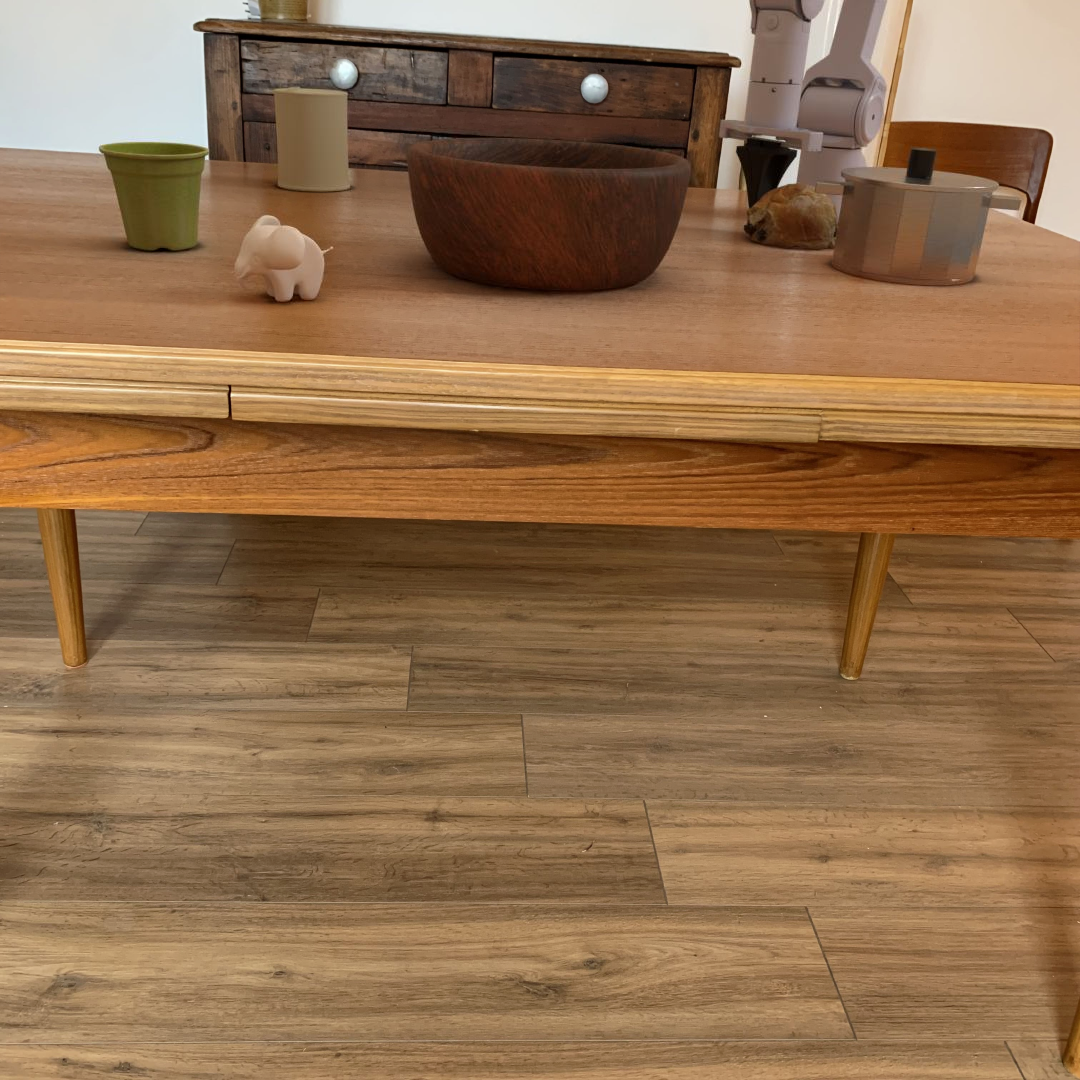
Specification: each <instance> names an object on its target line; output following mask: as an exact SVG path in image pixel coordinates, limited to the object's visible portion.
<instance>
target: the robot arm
mask: <svg viewBox="0 0 1080 1080" xmlns="http://www.w3.org/2000/svg"><path fill="white" fill-rule="evenodd" d="M825 1H826V0H749V1H748V2H749V8H750V13H751V20H750V29H751V30H750V31H751V34H752V35H754V38H753V39H754V40H753V47H752V55H751V64H750V71H749V81H748V88H747V96H746V105H745V113H744V120H737V119H720V123H719V133H718V137H719V138H722V139H732V140H738V141H746V143H744V145H736V148H735V153H736V156H737V159H738V160H739V163H740V165H741V168H742V172H743V176H744V180H745V181H744V182H745V188H746V195H747V203H748V204H747V205H748V209H750V208H752V207H753V205H754V204H755V203H756V202H758V201H759V200H760V198H761V197H762V196H763V195H765V194H766V193H767V192H769V191H771V190H773V189H776V188H778V187H779V185H780V183H781V181H782V179H783V177H784V175H785V173H786V172H787V170H788V169H789V167H791V165H792V163H793V162H794V161H795V160H796V158H797V156H798V150H800V152H799V153H800V154H799V162H798V167H797V175H796V182H795V183H799V184H808V185H811V186H813V187H816V182H817V180H824V181H836V182H845V178H843V177H841V171H842V170H843V169H846V168H854V167H868V166H867V160H866V157H865V155H864V153H863V152H862V148H867V147H868V145H870V143H872V141H873V140H874V139H875V138H876V137H877V135H878V134H879V132H880V129H881V127H882V123H883V120H884V113H885V100H886V94H887V90H888V88H887V87H888V86H887V82H886V79H885V78H884V76H883V75H882V73H881V72H880V71H879V70H878V69H877V68H876V67H875V66H874V65H873V63H872V57H873V54H874V50H875V47H876V43H877V41H878V40H877V39H878V35H879V32H880V29H881V26H882V21H883V18H884V15H885V12H886V11H885V10H886V7H887V3H888V0H843V1H842V5H841V9H840V12H839V15H838V19H837V23H836V27H835V30H834V34H833V38H832V42H831V45H830V49H829V53H828V54H827V55H826V56H825V57H823V58H822V59H820V60H819V61H817V62H816V63H815V64H813V65H811V66H810V67H809V68H807V69H806V68H805V67H806V61H807V55H808V46H809V39H810V33H811V27H812V26H811V25H812V20H814V19H815V18H816V17H817V16H818V15H819V14H820V13H821V11H822V9H823V7H824V4H825ZM805 69H806V70H805ZM759 136H760V137H759ZM761 136H766V137H775V139H771V138H764V137H761ZM826 195H827V196H829V198H830V199H831V200H832V202H833V203H834V204H835V206H836V209H837V216H838V221H839V215H840V208H841V202H842V196H843V195H832V194H826Z"/></svg>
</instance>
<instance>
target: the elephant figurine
mask: <svg viewBox="0 0 1080 1080" xmlns="http://www.w3.org/2000/svg"><path fill="white" fill-rule="evenodd" d="M333 249H334V247H333V246H329V248H328V249H325V250H322V249H321V248H320V247H319V245H318V244H317V243H316V242H315V241H314V240H313V239H312V238H310V237H309V236H307V235H305V234H304V233H302V232H301V231H300V230H298V229H297V228H296V227H294V226H290V225H281V222H280V220H279V219H278V218H277V217H276V216H273V215H268V214H264V215H262V216H260V217H259V218H258V219H256V221H255V222H254V223H253V225H252V226H251V228H250V229H249V231H248V232H247V233H246V235H245V236H244V237H243V239H242V243H241V247H240V250H239V254H238V256H237V259H236V260H235V263H234V267H233V268H234V270H232V271H231V272H230V274H235V279H236V281H237V283H238V284H239V285H240V287H242V288H243V289H244V290H246V291H253V290H255V289H256V288H257V287H258V282H257V281H256V280H250V281H248V278H249V277H250V276H253V275H261V276H262V278H263V281H264V284H265V287H266V292H267V294H268V296H269V297H273V298H274V299H275V301H277V302H279V303H285V302H289V301H290V300H291V299H292V298H293V296H294V294H295V295H299V297H300V299H301V300H305V301H312V300H314V299H316V298H317V296H318V294H319V292H320V289H321V286H322V282H323V278H324V271H325V258H324V255H325V254H326V253H327V252H329V251H331V250H333Z"/></svg>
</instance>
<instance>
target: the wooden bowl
mask: <svg viewBox="0 0 1080 1080" xmlns="http://www.w3.org/2000/svg"><path fill="white" fill-rule="evenodd" d="M406 164H407V165H406V166H407V173H408V180H409V181H408V182H409V188H410V196H411V202H412V208H413V212H414V213H413V214H414V217H415V221H416V225H417V227H418V230H419V234H420V238H421V240H422V242H423V244H424V246H425V248H426V250H427V252H428V254H429V255H430V257H431V258H432V260H433V262H434V263H435V264H436V265H437V266H438V267H439V268H440V269H441V270H442V271H444V272H446V273H448V274H450V275H453V276H455V277H459V278H461V279H466V280H469V281H472V282H478V283H484V284H488V285H495V286H502V287H509V288H518V289H530V290H545V291H547V290H548V291H588V290H590V291H591V290H592V291H593V290H605V289H613V288H621V287H626V286H631V285H635V284H637V283H641V282H643V281H645V280H646V279H647V278H649V277H650V276H651V275H653V273H654V272H655V271H656V270H657V269H658V267H659V266H660V265H661V263H662V261H663V260H664V258H665V256H666V255H667V253H668V251H669V250H670V247H671V245H672V243H673V240H674V238H675V235H676V233H677V230H678V227H679V223H680V220H681V218H682V217H681V216H682V213H683V209H684V205H685V201H686V196H687V191H688V189H689V188H688V187H689V183H690V177H691V172H692V169H691V167H692V166H691V163H690V162H689V161H688V160H687V159H686V158H685V157H683V156H680V155H677V154H674V153H669V152H665V151H661V150H655V149H649V148H643V147H636V146H628V145H620V144H612V143H601V142H590V141H577V140H563V139H549V138H548V139H547V138H546V139H544V138H524V137H523V138H522V137H521V138H520V137H519V138H518V137H463V138H462V137H461V138H460V137H458V138H444V139H443V138H442V139H432V140H425V141H421V142H416V143H413V144H412V145H410V146H409V147H408V148H407V152H406Z"/></svg>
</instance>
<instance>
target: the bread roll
mask: <svg viewBox="0 0 1080 1080" xmlns="http://www.w3.org/2000/svg"><path fill="white" fill-rule="evenodd" d="M746 216H747V218H746V224H744V225H743V232H744V234H746V235H748V236H749V239H750V240H752V242H755V243H758V244H762V245H766V246H771V247H778V248H784V249H797V248H804V249H809V250H810V249H812V250H813V249H815V250H822V249H823V250H824V249H828V248H833V249H834V245H835V239H836V233H837V227H838V216H837V209H836V206H835V204H834V203H833V202H832V200H831V199H830V198H829V196H827V195H826V194H821V193H815V187H813V186H811V185H808V184H799V183H796V182H795V183H787V184H784V185H780V186H778V187H777V188H776V189H773V190H771V191H769V192H767V193H766V194H765V195H763V196H762V197H761V198H760V200H759V201H758V202H756V203H755V204H754V205H753V207H752V208H750V209H749V208H748V209H747V210H746Z"/></svg>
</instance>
